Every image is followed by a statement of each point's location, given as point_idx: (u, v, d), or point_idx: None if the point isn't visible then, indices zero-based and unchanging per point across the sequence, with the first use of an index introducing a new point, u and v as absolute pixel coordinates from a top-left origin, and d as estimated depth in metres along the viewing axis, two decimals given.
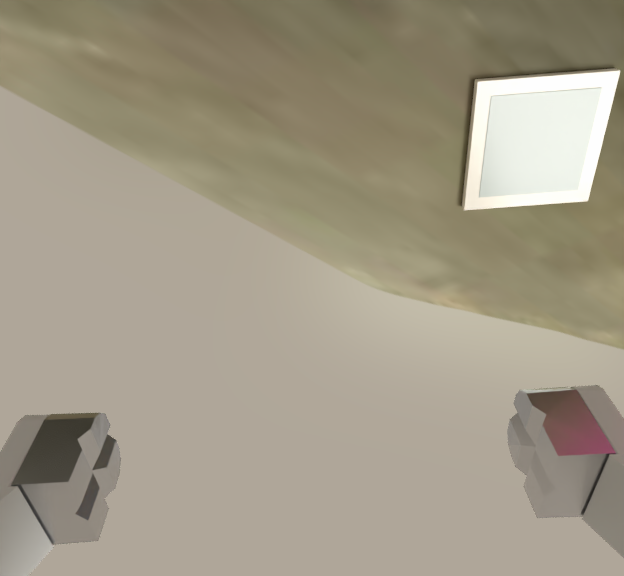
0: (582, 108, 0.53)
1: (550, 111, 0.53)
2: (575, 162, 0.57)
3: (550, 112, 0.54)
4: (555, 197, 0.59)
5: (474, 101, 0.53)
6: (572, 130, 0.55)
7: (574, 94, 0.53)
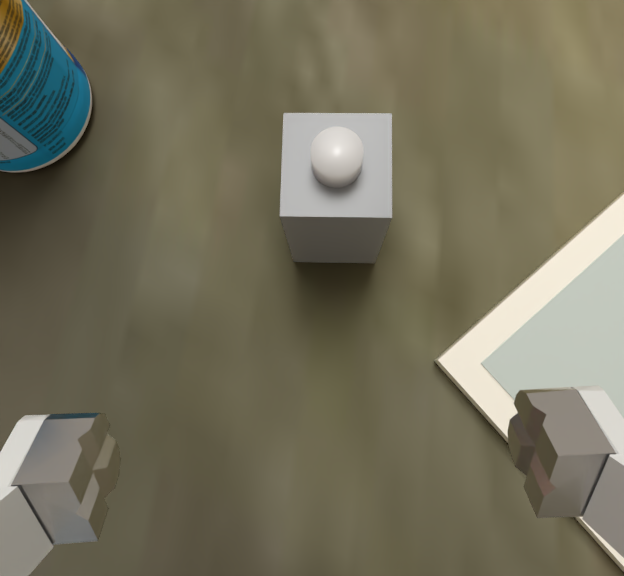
0: (530, 360, 0.26)
1: None
2: (603, 275, 0.27)
3: None
4: None
5: None
6: (569, 340, 0.26)
7: None
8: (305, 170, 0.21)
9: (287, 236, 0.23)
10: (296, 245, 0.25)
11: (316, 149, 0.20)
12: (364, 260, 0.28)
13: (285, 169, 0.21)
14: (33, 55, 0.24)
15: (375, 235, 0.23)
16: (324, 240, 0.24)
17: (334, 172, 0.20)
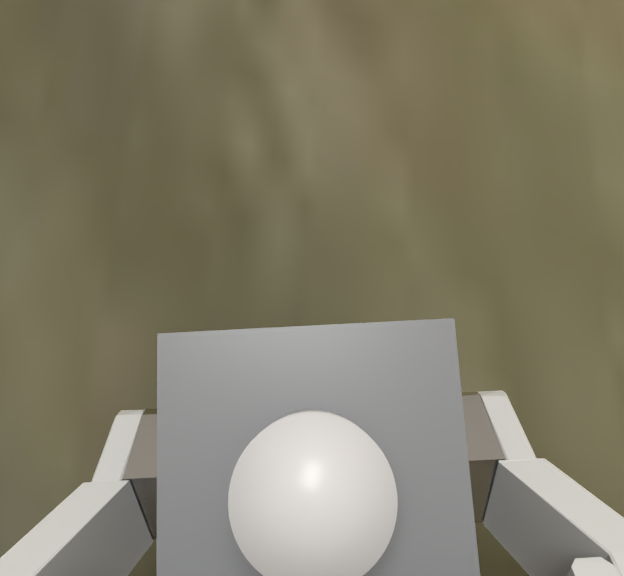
0: None
1: None
2: None
3: None
4: None
5: None
6: None
7: None
8: (226, 509, 0.07)
9: None
10: None
11: (246, 498, 0.06)
12: None
13: (167, 509, 0.07)
14: None
15: None
16: None
17: (309, 574, 0.06)
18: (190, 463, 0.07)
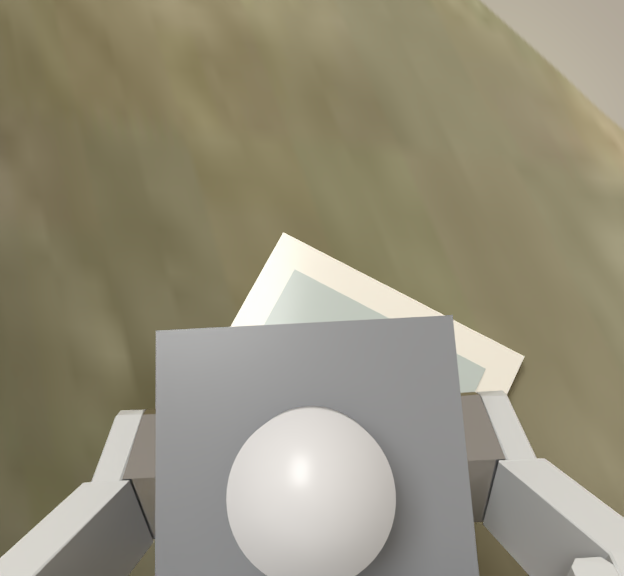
0: None
1: None
2: None
3: None
4: (339, 277, 0.27)
5: None
6: None
7: None
8: (225, 506, 0.07)
9: None
10: None
11: (245, 494, 0.06)
12: None
13: (166, 506, 0.07)
14: None
15: None
16: None
17: (307, 570, 0.06)
18: (189, 460, 0.07)
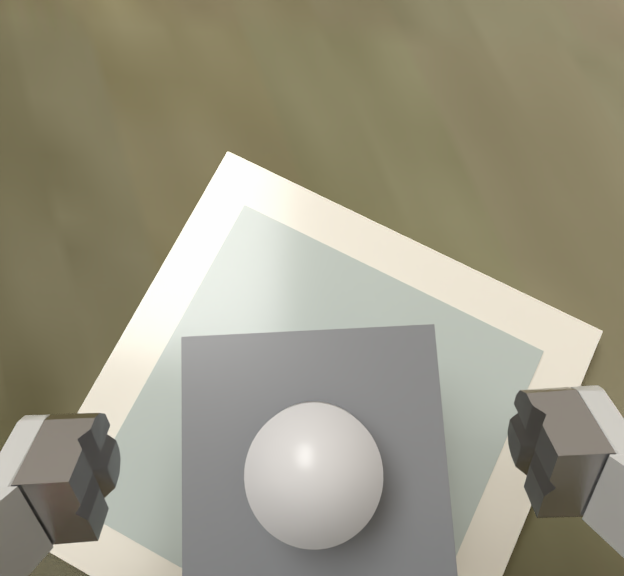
0: (148, 473, 0.16)
1: None
2: (221, 299, 0.17)
3: None
4: (314, 217, 0.18)
5: None
6: None
7: (156, 535, 0.16)
8: (240, 485, 0.09)
9: None
10: None
11: (259, 472, 0.08)
12: None
13: (191, 485, 0.09)
14: None
15: None
16: None
17: (310, 535, 0.07)
18: (210, 446, 0.09)
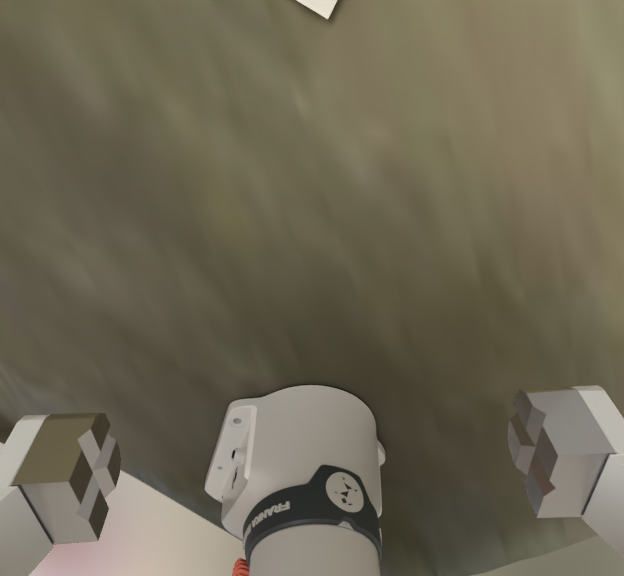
0: None
1: None
2: None
3: None
4: None
5: None
6: None
7: None
8: None
9: None
10: None
11: None
12: None
13: None
14: None
15: None
16: None
17: None
18: None
